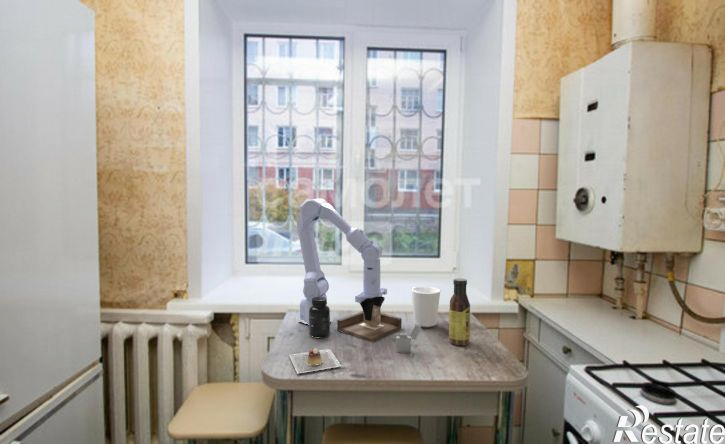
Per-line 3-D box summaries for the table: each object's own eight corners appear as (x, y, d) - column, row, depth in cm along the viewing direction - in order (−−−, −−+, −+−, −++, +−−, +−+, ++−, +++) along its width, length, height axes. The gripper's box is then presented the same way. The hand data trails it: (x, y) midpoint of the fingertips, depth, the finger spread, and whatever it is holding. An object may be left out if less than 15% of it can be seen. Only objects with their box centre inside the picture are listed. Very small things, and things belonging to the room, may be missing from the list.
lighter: (396, 352, 112) (396, 325, 111) (395, 350, 113) (396, 323, 113) (420, 352, 112) (421, 325, 111) (419, 349, 113) (420, 323, 113)
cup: (405, 322, 137) (406, 287, 136) (428, 319, 141) (429, 285, 140) (421, 332, 128) (421, 294, 127) (445, 327, 132) (446, 291, 131)
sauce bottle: (470, 347, 115) (471, 282, 114) (448, 345, 117) (450, 281, 115) (468, 339, 122) (470, 277, 120) (448, 337, 123) (449, 276, 121)
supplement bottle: (304, 334, 125) (304, 298, 124) (321, 329, 130) (321, 294, 129) (316, 340, 120) (316, 302, 119) (334, 334, 125) (334, 298, 124)
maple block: (374, 326, 128) (374, 308, 127) (363, 323, 131) (363, 305, 131) (380, 324, 130) (380, 306, 130) (369, 320, 133) (369, 303, 133)
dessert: (288, 358, 108) (288, 342, 108) (329, 352, 113) (329, 336, 112) (297, 377, 97) (296, 359, 97) (342, 370, 102) (342, 352, 101)
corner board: (337, 330, 129) (337, 320, 129) (368, 318, 141) (368, 309, 141) (371, 341, 119) (371, 330, 119) (401, 328, 131) (401, 318, 131)
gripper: (366, 285, 121) (366, 327, 123) (394, 277, 132) (393, 316, 133) (350, 281, 126) (350, 322, 127) (378, 274, 137) (378, 311, 138)
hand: (371, 318), depth 131 cm, fingers closed on maple block, 3 cm apart
